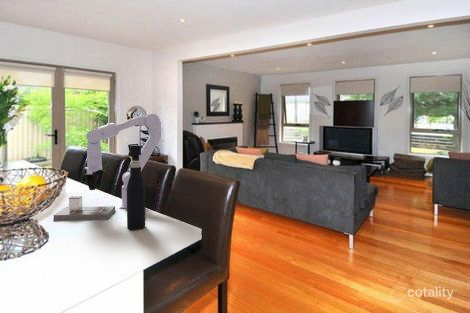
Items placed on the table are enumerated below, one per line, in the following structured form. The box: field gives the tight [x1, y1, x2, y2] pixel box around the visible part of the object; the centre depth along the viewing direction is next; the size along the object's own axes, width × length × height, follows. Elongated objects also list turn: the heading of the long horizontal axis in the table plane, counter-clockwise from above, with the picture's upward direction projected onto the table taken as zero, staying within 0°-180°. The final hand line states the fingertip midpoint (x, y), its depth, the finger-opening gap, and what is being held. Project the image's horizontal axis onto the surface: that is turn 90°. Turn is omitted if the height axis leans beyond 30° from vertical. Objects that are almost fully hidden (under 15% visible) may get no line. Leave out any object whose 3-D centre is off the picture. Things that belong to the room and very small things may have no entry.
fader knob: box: [68, 195, 83, 211], centre depth 124 cm, size 4×3×5 cm
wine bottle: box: [126, 145, 146, 231], centre depth 110 cm, size 6×6×30 cm
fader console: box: [53, 205, 116, 221], centre depth 125 cm, size 20×12×2 cm, turn 98°
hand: (95, 188), depth 133 cm, fingers open, 7 cm apart
